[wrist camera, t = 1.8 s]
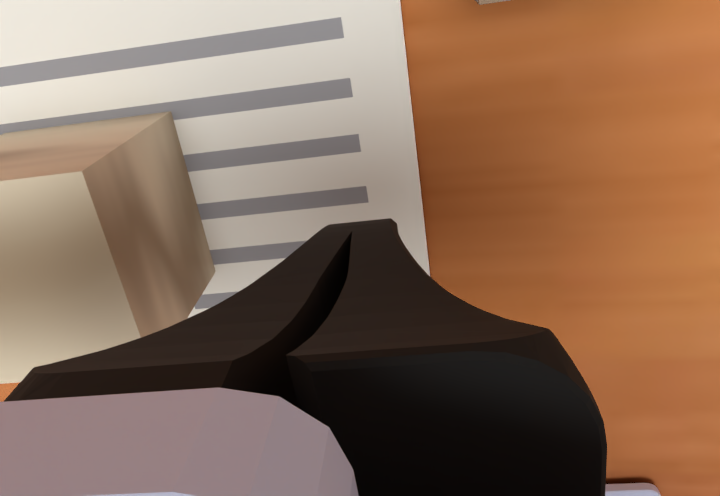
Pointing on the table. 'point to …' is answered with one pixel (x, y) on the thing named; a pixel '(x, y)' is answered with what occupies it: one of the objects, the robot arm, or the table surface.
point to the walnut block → (488, 1)
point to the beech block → (95, 239)
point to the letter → (237, 109)
